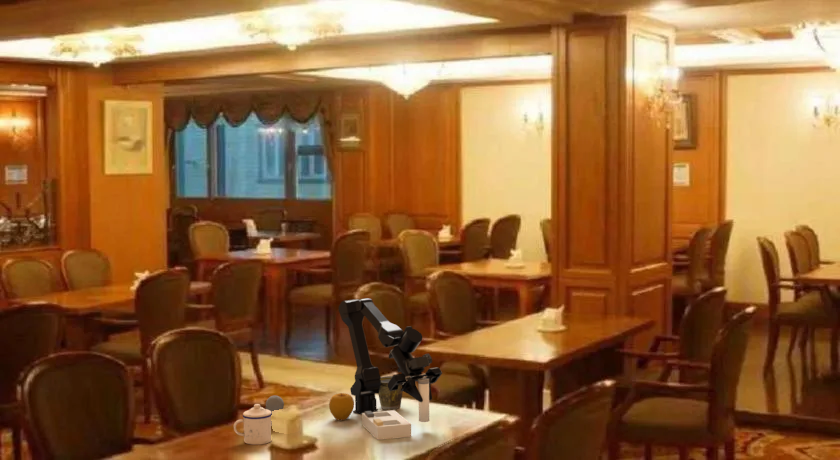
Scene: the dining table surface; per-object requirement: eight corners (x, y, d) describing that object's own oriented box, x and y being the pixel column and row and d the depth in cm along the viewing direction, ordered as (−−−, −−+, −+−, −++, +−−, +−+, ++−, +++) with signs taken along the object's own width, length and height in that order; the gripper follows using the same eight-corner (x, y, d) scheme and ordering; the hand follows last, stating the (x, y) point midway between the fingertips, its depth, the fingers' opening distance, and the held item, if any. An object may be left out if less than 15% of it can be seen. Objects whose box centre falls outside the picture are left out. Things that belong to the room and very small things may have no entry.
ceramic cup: (373, 405, 390) (372, 377, 389) (400, 403, 393) (399, 375, 392) (383, 414, 378) (382, 385, 377) (410, 411, 381) (410, 382, 380)
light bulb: (281, 428, 361) (280, 398, 360) (263, 427, 363) (262, 397, 362) (286, 423, 367) (286, 393, 366) (269, 422, 368) (268, 393, 368)
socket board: (362, 425, 364) (362, 410, 363) (394, 422, 367) (394, 407, 366) (377, 439, 345) (377, 424, 345) (411, 436, 349) (411, 420, 348)
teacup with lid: (269, 436, 352) (268, 400, 351) (275, 443, 343) (274, 406, 342) (232, 439, 348) (230, 403, 347) (236, 447, 340) (235, 410, 339)
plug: (416, 421, 354) (416, 379, 353) (421, 418, 357) (421, 377, 356) (426, 422, 352) (425, 380, 351) (431, 419, 355) (430, 378, 354)
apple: (358, 420, 369) (357, 394, 368) (333, 423, 366) (333, 397, 365) (350, 415, 377) (349, 389, 376) (326, 417, 374) (325, 392, 373)
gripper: (392, 350, 350) (413, 390, 342) (438, 342, 361) (460, 381, 354) (378, 370, 357) (399, 410, 349) (423, 362, 368) (445, 401, 361)
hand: (426, 400), depth 353 cm, fingers closed on plug, 3 cm apart
